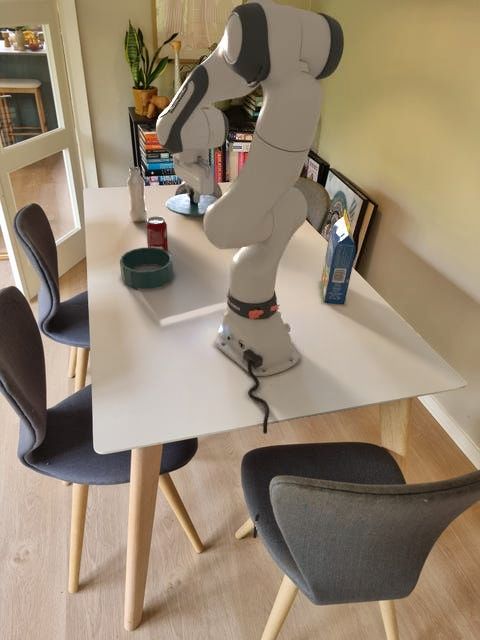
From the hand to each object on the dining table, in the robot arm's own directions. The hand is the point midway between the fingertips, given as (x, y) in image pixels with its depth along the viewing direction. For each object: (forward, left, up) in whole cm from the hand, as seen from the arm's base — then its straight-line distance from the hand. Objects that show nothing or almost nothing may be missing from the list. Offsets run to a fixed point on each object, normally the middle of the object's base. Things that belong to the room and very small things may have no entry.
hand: (193, 199), depth 134 cm
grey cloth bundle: (+40, -21, -23) cm, 51 cm away
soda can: (+14, +7, -23) cm, 28 cm away
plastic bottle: (+42, +4, -23) cm, 48 cm away
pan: (0, +16, -23) cm, 28 cm away
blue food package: (-33, -31, -23) cm, 51 cm away
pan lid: (0, 0, -2) cm, 2 cm away
